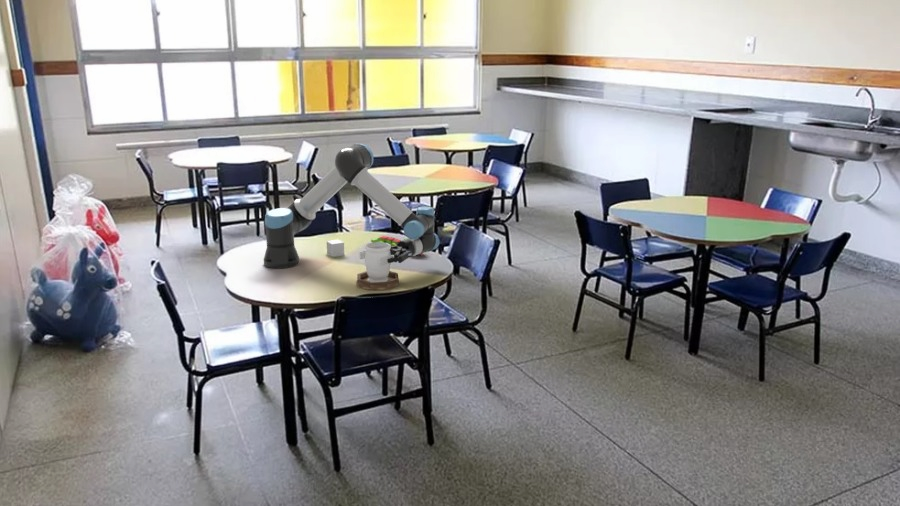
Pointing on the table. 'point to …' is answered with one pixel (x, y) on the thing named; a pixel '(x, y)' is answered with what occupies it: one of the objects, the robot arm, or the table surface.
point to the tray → (363, 282)
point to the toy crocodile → (387, 240)
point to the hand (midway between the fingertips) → (370, 259)
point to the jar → (377, 261)
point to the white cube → (335, 248)
